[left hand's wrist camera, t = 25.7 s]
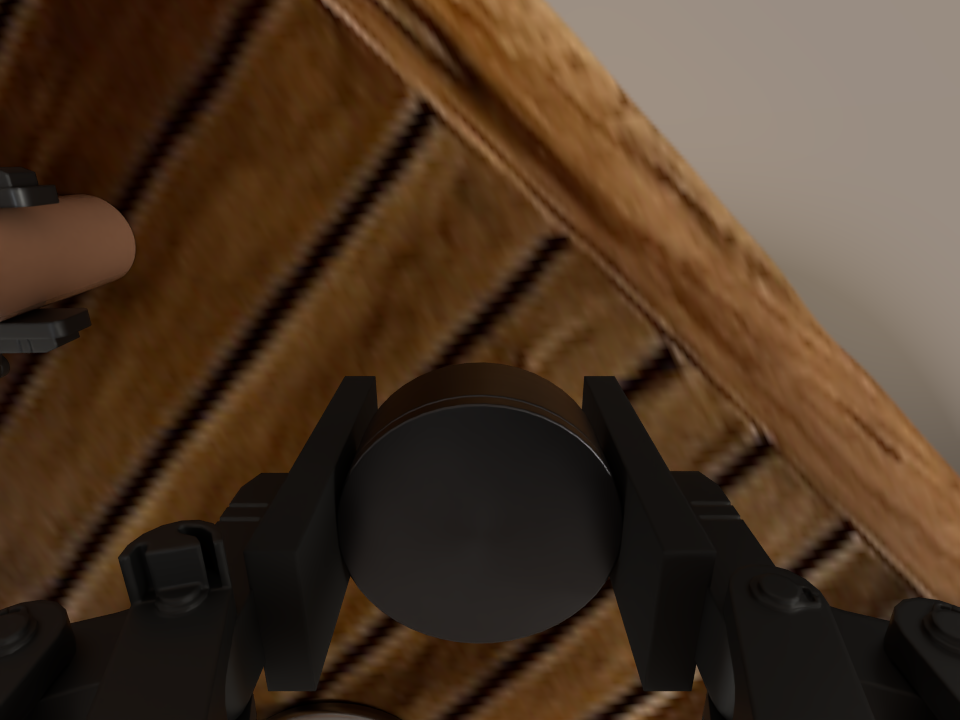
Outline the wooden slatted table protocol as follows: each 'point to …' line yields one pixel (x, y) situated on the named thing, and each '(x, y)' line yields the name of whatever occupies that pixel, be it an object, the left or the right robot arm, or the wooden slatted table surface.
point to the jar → (60, 251)
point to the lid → (479, 506)
